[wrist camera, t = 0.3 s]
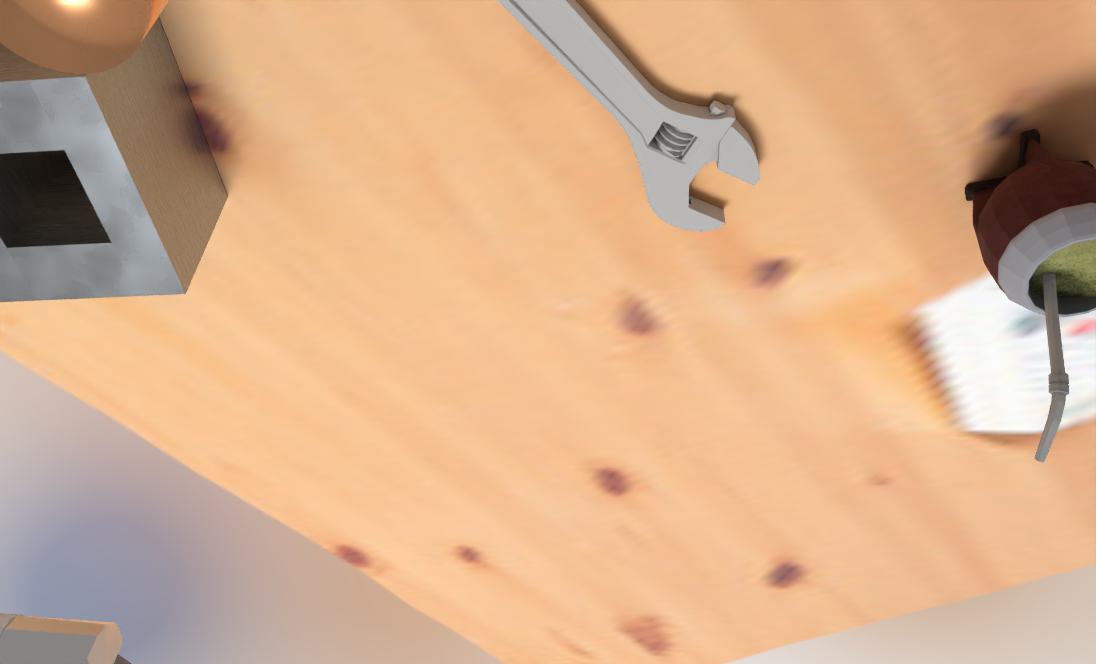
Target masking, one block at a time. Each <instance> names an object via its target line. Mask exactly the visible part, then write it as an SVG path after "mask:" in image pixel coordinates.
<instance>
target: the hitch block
mask: <svg viewBox="0 0 1096 664" xmlns="http://www.w3.org/2000/svg"><path fill="white" fill-rule="evenodd" d="M227 198H228V196H227V193H226V190H225V188H224V185H223V183H222V180H221V177H220V175H219V172H218V170H217V167H216V164H215V162H214V159H213V157H212V154H211V151H210V149H209V146H208V144H207V141H206V139H205V136H204V133H203V131H202V128H201V126H200V123H199V120H198V118H197V115H196V113H195V110H194V107H193V105H192V102H191V100H190V97H189V94H188V92H187V89H186V87H185V84H184V81H183V79H182V76H181V74H180V71H179V68H178V66H177V63H176V61H175V58H174V55H173V53H172V50H171V48H170V45H169V42H168V40H167V37H166V35H165V32H164V30H163V27H162V24H161V22H160V19H159V17H158V18H157V20H156V21H155V23H154V24H153V26H152V27H151V29H150V30H149V32H148V33H147V35H146V36H145V38H144V39H143V41H142V42H141V44H140V45H139V47H138V48H137V49H136V51H135V52H134V53H133V54H132V55H131V56H130V57H129V58H128V59H127V60H126V61H125V62H123V63H122V64H120V65H118V66H116V67H114V68H112V69H110V70H106V71H103V72H99V73H91V74H74V73H65V72H60V71H56V70H52V69H49V68H46V67H43V66H40V65H38V64H35V63H33V62H31V61H28V60H26V59H25V58H23V57H21V56H19V55H17V54H16V53H14V52H13V51H11V50H10V49H8V48H7V47H5V46H4V45H2V44H1V43H0V302H12V301H35V300H58V299H80V298H103V297H126V296H149V295H171V294H186V292H187V289H188V287H189V285H190V282H191V280H192V278H193V276H194V273H195V271H196V269H197V266H198V264H199V262H200V259H201V257H202V255H203V253H204V250H205V248H206V246H207V243H208V241H209V239H210V237H211V234H212V232H213V230H214V227H215V225H216V223H217V220H218V218H219V216H220V214H221V211H222V209H223V207H224V204H225V202H226V200H227Z"/></svg>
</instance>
